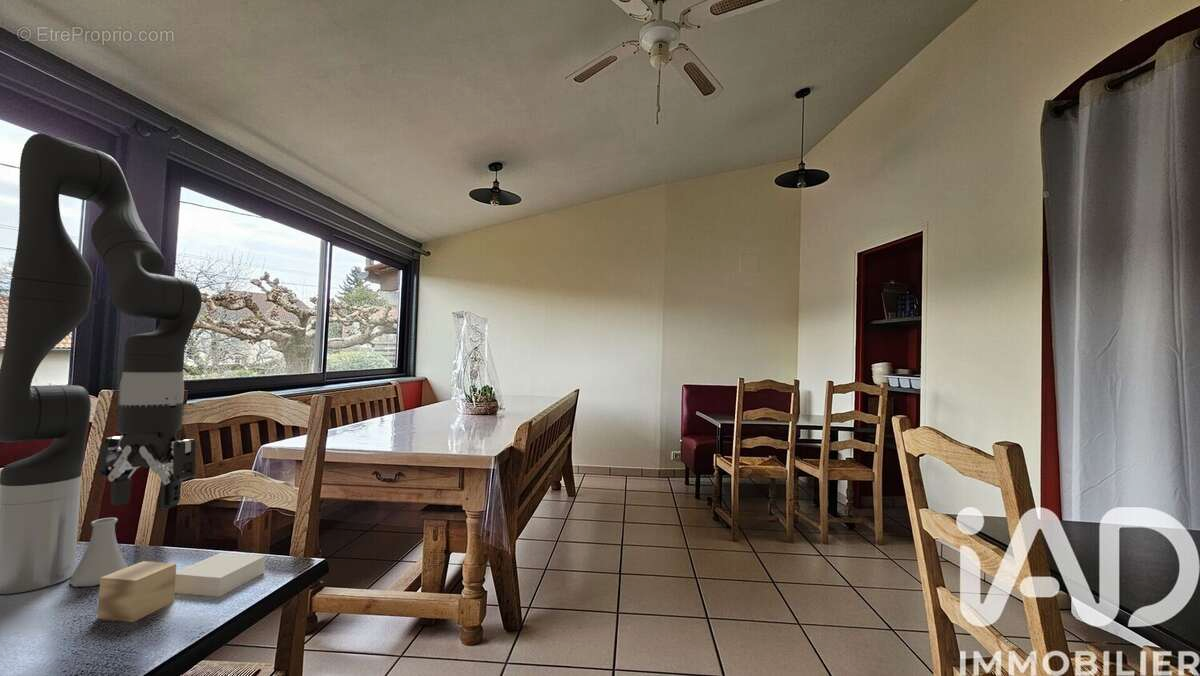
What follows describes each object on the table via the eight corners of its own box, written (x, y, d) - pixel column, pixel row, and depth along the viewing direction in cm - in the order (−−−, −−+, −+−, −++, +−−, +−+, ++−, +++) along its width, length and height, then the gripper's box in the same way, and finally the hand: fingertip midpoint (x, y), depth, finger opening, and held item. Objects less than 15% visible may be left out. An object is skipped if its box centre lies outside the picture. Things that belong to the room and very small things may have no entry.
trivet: (170, 592, 79) (171, 573, 79) (219, 569, 88) (220, 552, 88) (219, 596, 78) (220, 577, 78) (264, 573, 87) (265, 556, 87)
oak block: (97, 619, 71) (100, 577, 71) (140, 599, 77) (143, 561, 77) (133, 622, 70) (136, 580, 71) (173, 602, 76) (176, 563, 77)
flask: (90, 590, 79) (94, 528, 80) (57, 585, 81) (62, 525, 81) (140, 572, 87) (144, 515, 87) (109, 568, 88) (113, 512, 89)
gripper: (84, 401, 73) (75, 510, 72) (168, 404, 71) (160, 516, 70) (137, 398, 80) (130, 497, 79) (214, 400, 78) (208, 501, 78)
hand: (144, 506), depth 75 cm, fingers open, 8 cm apart
